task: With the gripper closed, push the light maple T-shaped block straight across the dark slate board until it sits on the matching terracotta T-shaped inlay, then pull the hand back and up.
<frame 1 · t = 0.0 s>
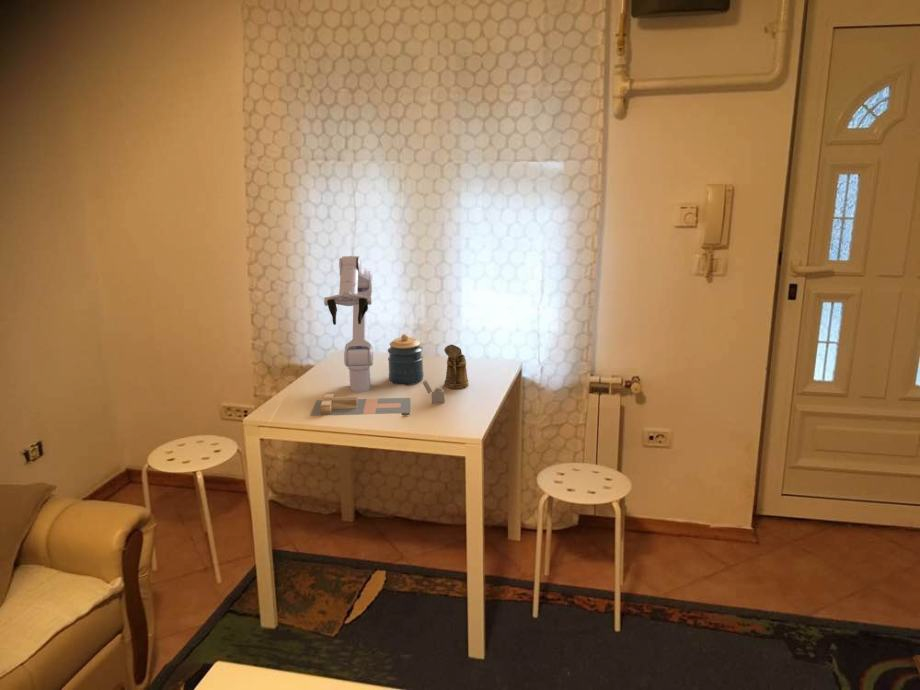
hand: (346, 322, 212), 32 cm above the table, tool tilted 50°, fingers open, 7 cm apart
bronze figurine: (455, 387, 250), on the table
slate board: (361, 409, 230), on the table
t block: (340, 407, 230), point 1 cm above the table, touching slate board
canister: (406, 380, 259), on the table
lighter: (433, 403, 235), on the table
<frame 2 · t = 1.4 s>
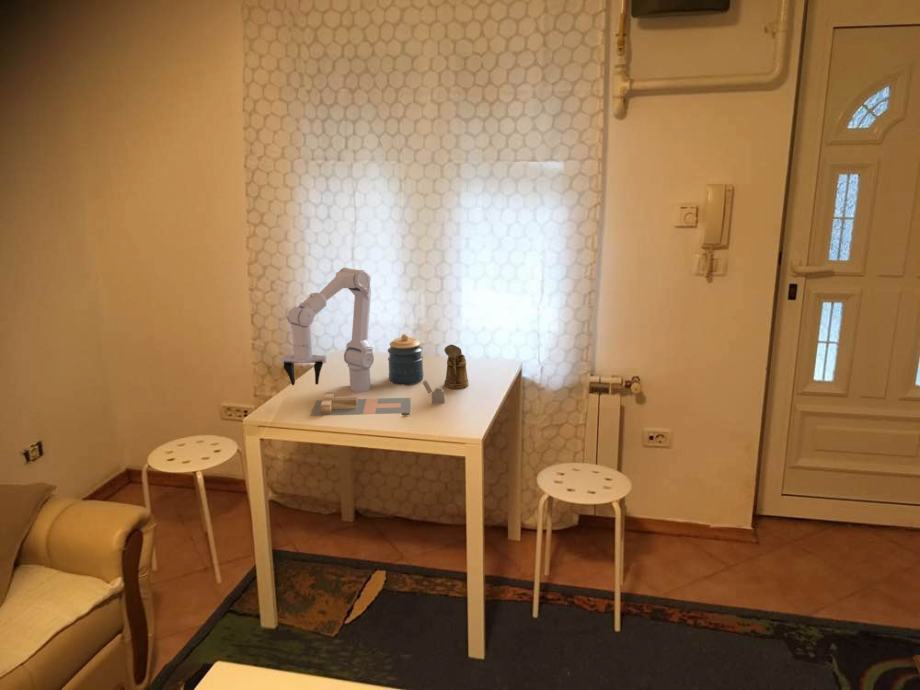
hand: (305, 383, 227), 9 cm above the table, tool pointing down, fingers open, 7 cm apart
nothing on the table moved.
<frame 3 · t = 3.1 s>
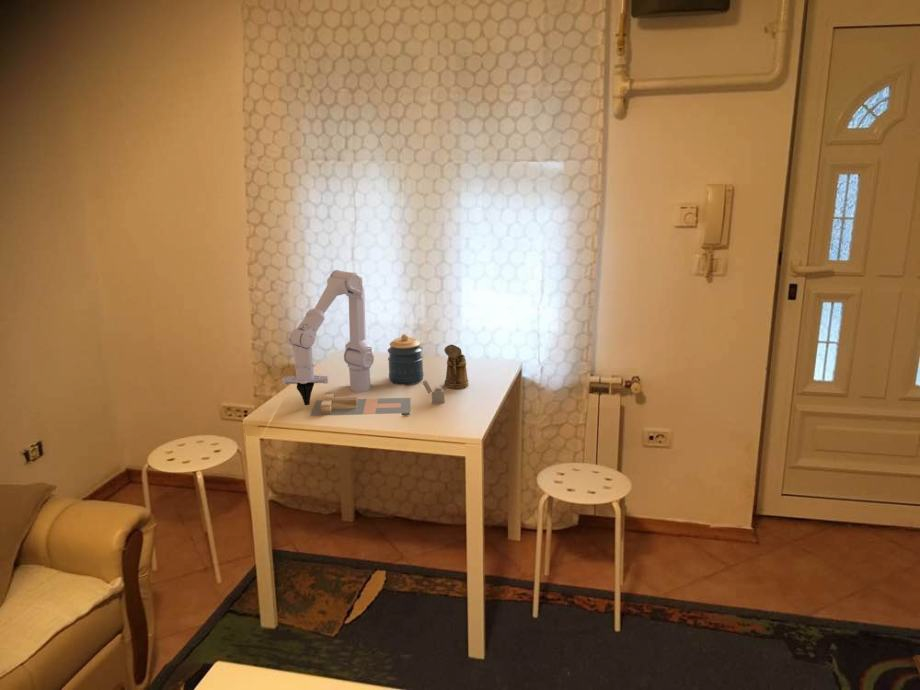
hand: (307, 404, 229), 2 cm above the table, tool pointing down, fingers closed
nothing on the table moved.
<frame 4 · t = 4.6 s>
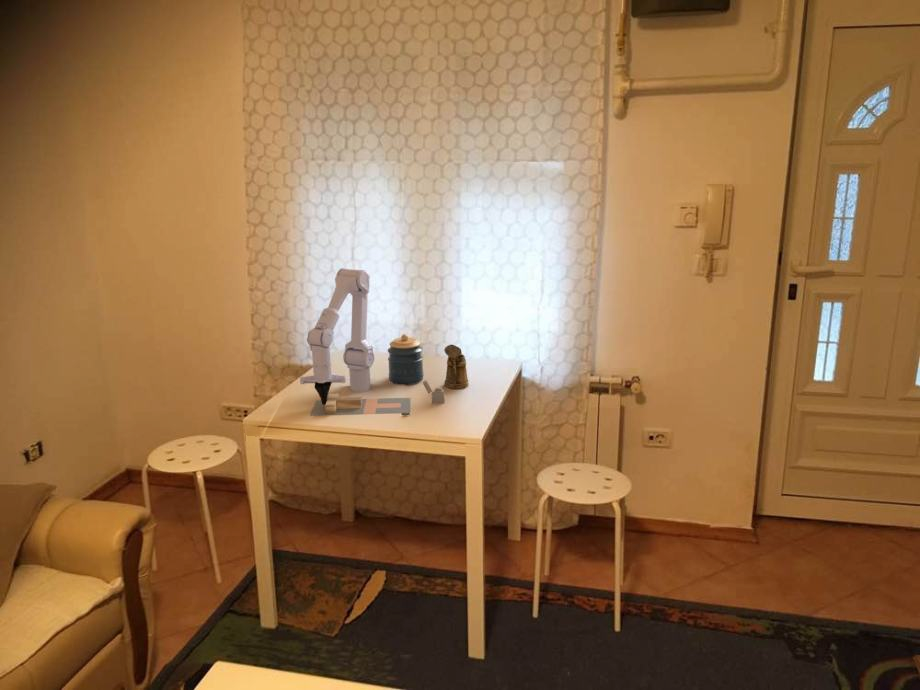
hand: (324, 403, 229), 2 cm above the table, tool pointing down, fingers closed
t block: (345, 406, 230), point 1 cm above the table, touching gripper, slate board
everything else where it was.
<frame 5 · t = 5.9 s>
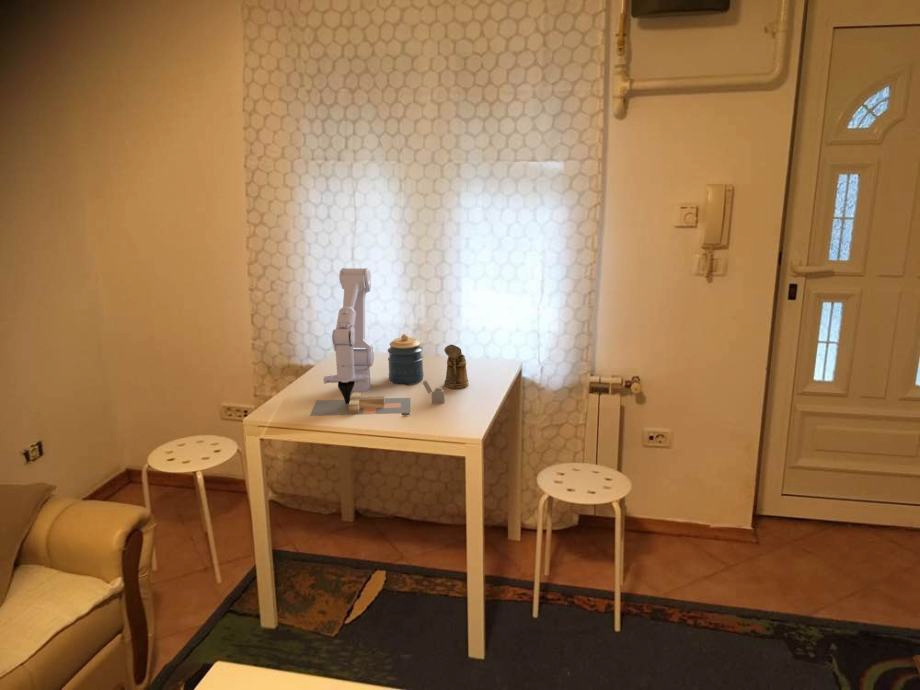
hand: (347, 402, 229), 2 cm above the table, tool pointing down, fingers closed
t block: (367, 406, 230), point 1 cm above the table, touching gripper, slate board
everything else where it was.
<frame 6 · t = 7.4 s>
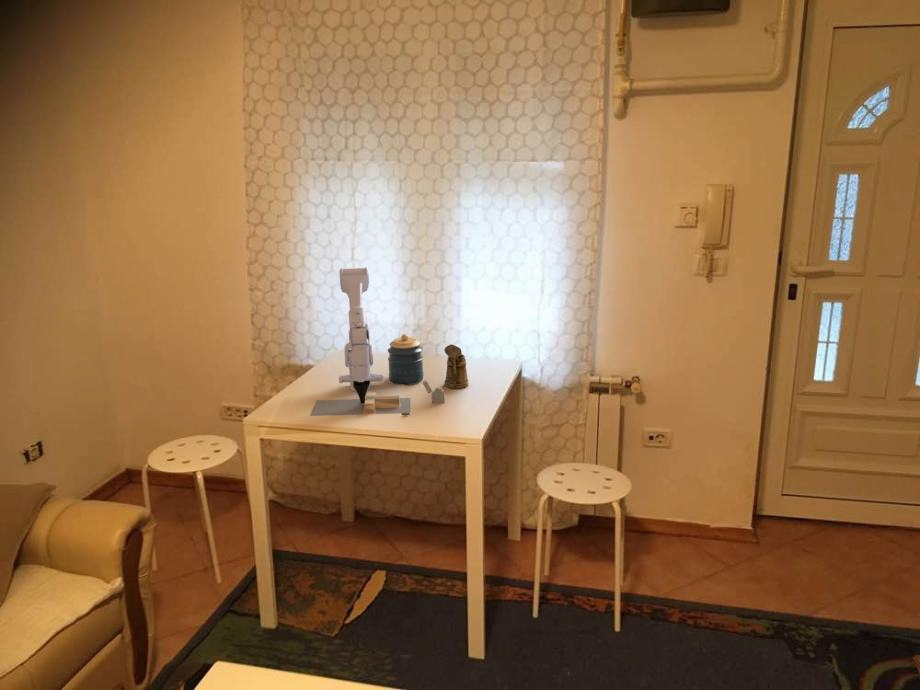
hand: (362, 402, 230), 2 cm above the table, tool pointing down, fingers closed
t block: (382, 405, 230), point 1 cm above the table, touching gripper, slate board
everything else where it was.
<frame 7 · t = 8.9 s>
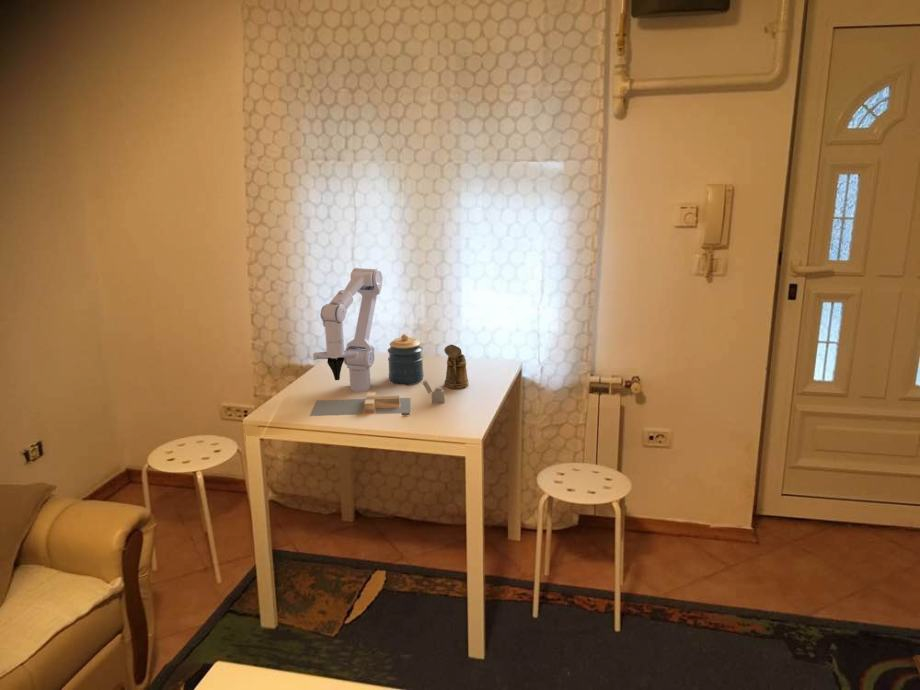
hand: (337, 379, 231), 9 cm above the table, tool pointing down, fingers closed
t block: (382, 405, 230), point 1 cm above the table, touching slate board
everything else where it was.
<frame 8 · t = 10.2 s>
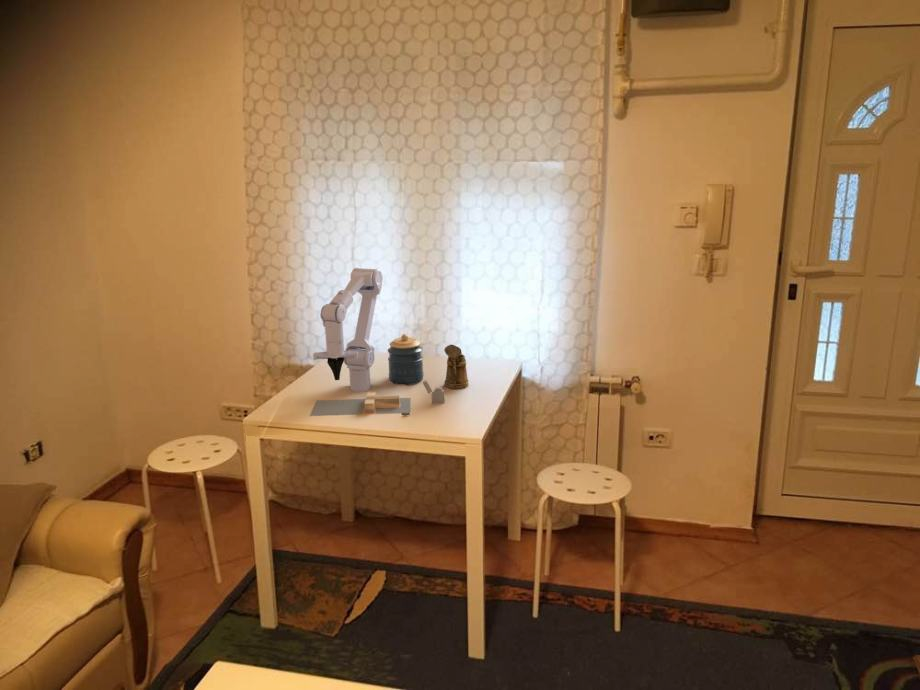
hand: (337, 379, 231), 9 cm above the table, tool pointing down, fingers closed
nothing on the table moved.
at the end: t block 0.2 cm from the target spot, point 1.0 cm above the table; t block tilted 0° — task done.
